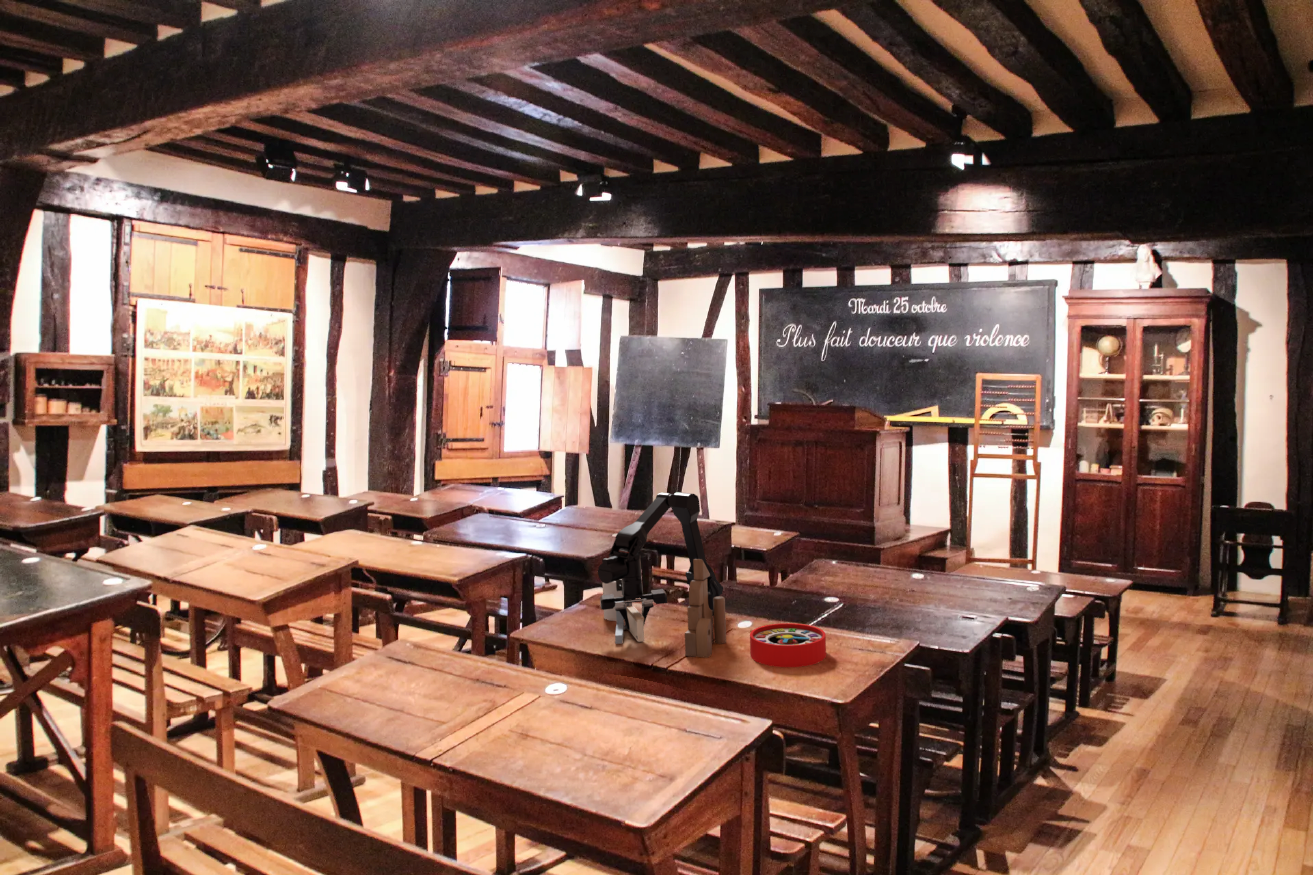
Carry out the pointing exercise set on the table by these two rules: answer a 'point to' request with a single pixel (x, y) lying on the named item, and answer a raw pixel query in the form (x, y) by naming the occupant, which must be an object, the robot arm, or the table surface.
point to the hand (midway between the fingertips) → (635, 628)
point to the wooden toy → (703, 616)
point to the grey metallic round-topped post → (626, 611)
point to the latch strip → (619, 628)
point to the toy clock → (787, 645)
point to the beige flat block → (635, 623)
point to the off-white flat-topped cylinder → (611, 589)
